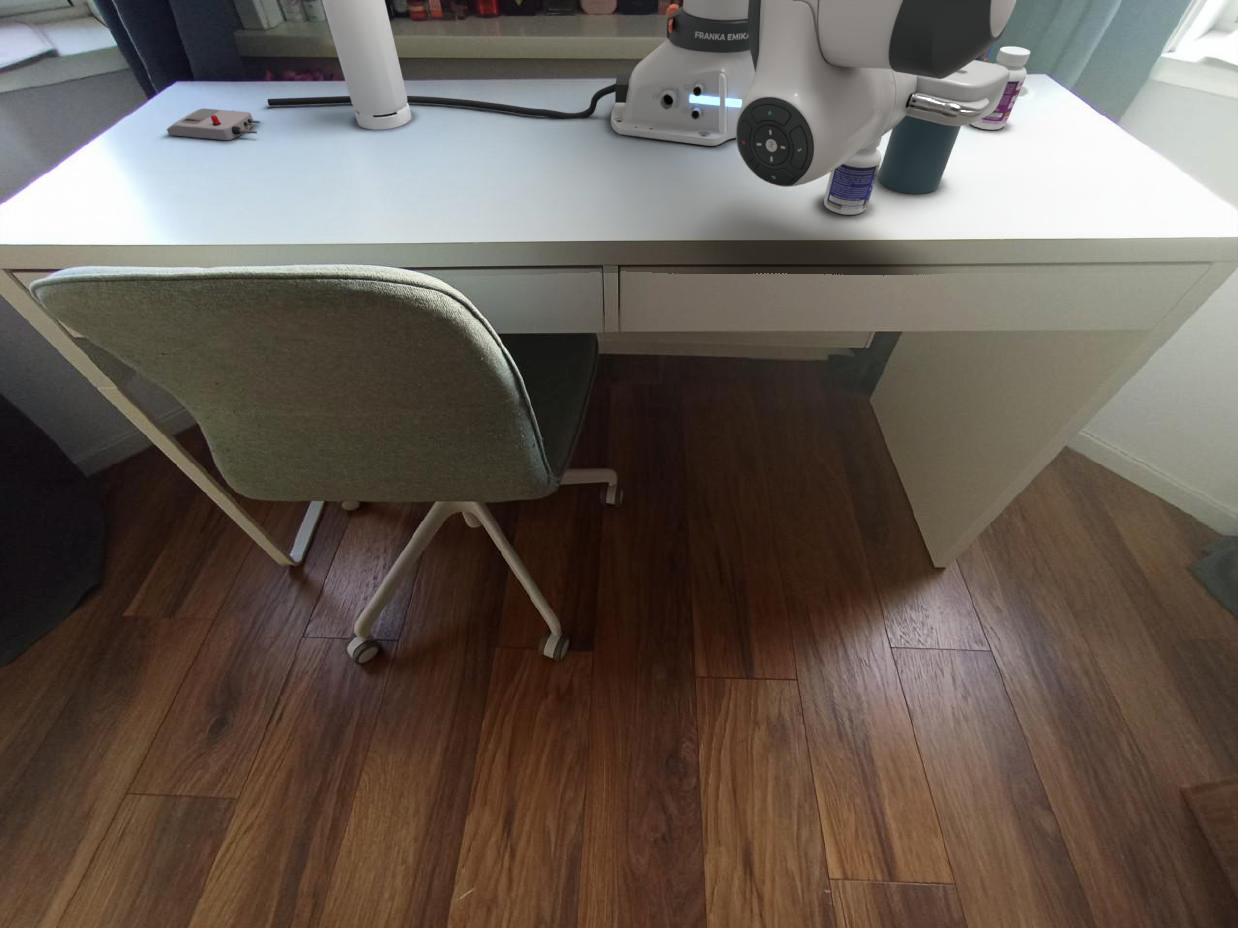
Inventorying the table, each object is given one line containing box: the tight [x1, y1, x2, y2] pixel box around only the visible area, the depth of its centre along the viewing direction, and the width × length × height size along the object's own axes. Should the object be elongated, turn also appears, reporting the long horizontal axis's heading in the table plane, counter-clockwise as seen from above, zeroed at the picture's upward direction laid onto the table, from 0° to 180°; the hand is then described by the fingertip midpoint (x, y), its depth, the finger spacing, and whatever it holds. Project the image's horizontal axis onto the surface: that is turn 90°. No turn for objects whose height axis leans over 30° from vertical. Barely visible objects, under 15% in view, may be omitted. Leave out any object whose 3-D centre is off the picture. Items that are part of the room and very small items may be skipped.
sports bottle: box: [877, 52, 985, 195], centre depth 76 cm, size 8×8×19 cm
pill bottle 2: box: [970, 45, 1031, 131], centre depth 92 cm, size 5×5×10 cm
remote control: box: [166, 107, 261, 141], centre depth 93 cm, size 7×16×3 cm, turn 78°
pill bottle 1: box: [823, 136, 883, 216], centre depth 75 cm, size 5×5×9 cm
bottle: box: [321, 0, 412, 131], centre depth 87 cm, size 8×8×28 cm
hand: (921, 55), depth 65 cm, fingers closed
